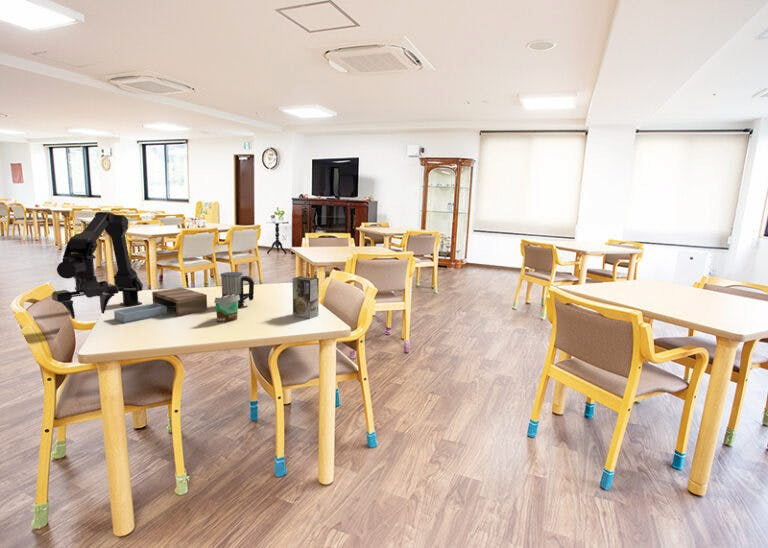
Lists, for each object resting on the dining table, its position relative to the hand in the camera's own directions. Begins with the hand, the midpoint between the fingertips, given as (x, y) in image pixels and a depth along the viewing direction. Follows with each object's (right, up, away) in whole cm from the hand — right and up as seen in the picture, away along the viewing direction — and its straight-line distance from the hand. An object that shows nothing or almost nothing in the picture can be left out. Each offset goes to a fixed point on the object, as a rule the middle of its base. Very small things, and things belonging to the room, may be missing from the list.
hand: (88, 315), depth 151 cm
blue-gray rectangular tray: (+10, -2, +15) cm, 18 cm away
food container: (+45, -3, +16) cm, 48 cm away
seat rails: (+20, 0, +29) cm, 35 cm away
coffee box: (+73, -3, +26) cm, 78 cm away
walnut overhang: (+19, 0, +28) cm, 34 cm away
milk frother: (+39, +1, +40) cm, 56 cm away
